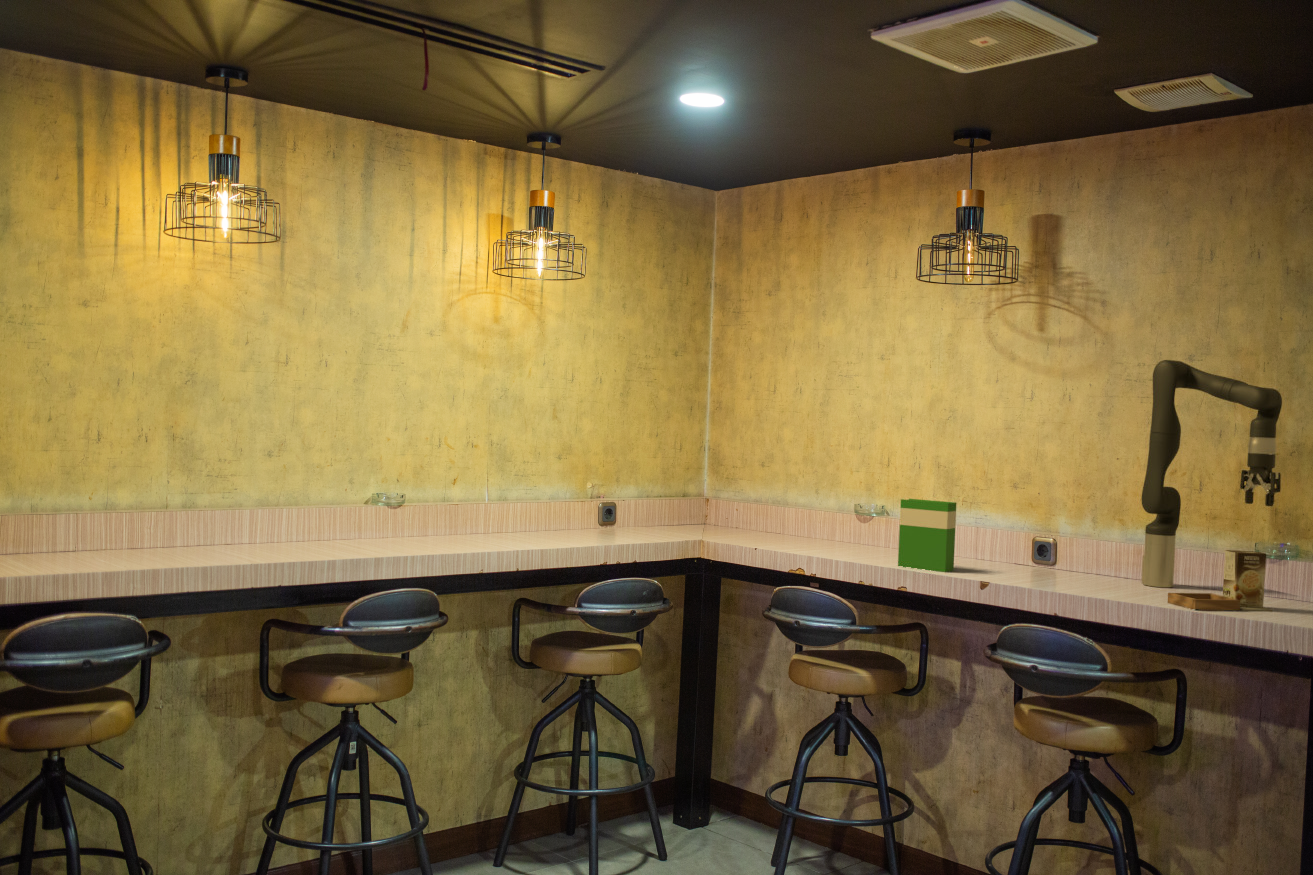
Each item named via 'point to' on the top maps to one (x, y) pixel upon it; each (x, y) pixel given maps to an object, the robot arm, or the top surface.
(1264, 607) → the rubber mat
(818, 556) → the top surface
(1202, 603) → the walnut cradle
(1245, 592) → the coffee box
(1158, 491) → the robot arm
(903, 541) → the green cereal box
